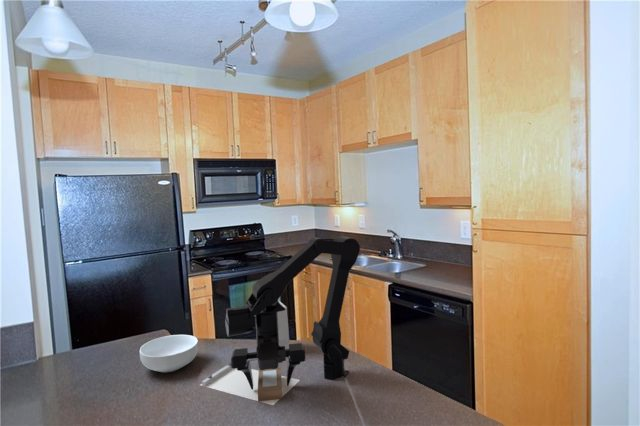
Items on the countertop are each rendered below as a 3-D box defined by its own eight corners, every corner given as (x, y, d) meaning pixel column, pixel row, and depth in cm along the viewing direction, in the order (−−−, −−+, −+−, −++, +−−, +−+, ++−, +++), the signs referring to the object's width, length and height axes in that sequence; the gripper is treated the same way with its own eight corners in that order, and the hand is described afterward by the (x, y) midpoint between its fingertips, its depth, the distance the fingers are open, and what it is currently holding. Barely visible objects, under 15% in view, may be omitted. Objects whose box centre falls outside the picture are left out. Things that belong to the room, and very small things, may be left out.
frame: (259, 379, 105) (258, 369, 105) (281, 377, 106) (280, 366, 106) (258, 401, 94) (257, 389, 94) (282, 398, 95) (281, 387, 95)
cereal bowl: (187, 379, 109) (186, 355, 108) (130, 381, 109) (128, 357, 108) (206, 353, 126) (205, 332, 125) (156, 355, 126) (155, 334, 125)
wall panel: (231, 366, 115) (231, 358, 115) (300, 382, 104) (299, 374, 104) (200, 387, 104) (199, 378, 103) (273, 408, 93) (272, 398, 92)
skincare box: (290, 355, 122) (288, 307, 121) (270, 359, 119) (267, 310, 118) (283, 345, 129) (281, 300, 128) (264, 349, 127) (261, 303, 126)
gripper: (227, 344, 90) (230, 408, 91) (305, 337, 92) (308, 399, 93) (231, 327, 101) (235, 384, 102) (302, 321, 103) (304, 377, 104)
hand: (270, 386), depth 100 cm, fingers open, 9 cm apart
